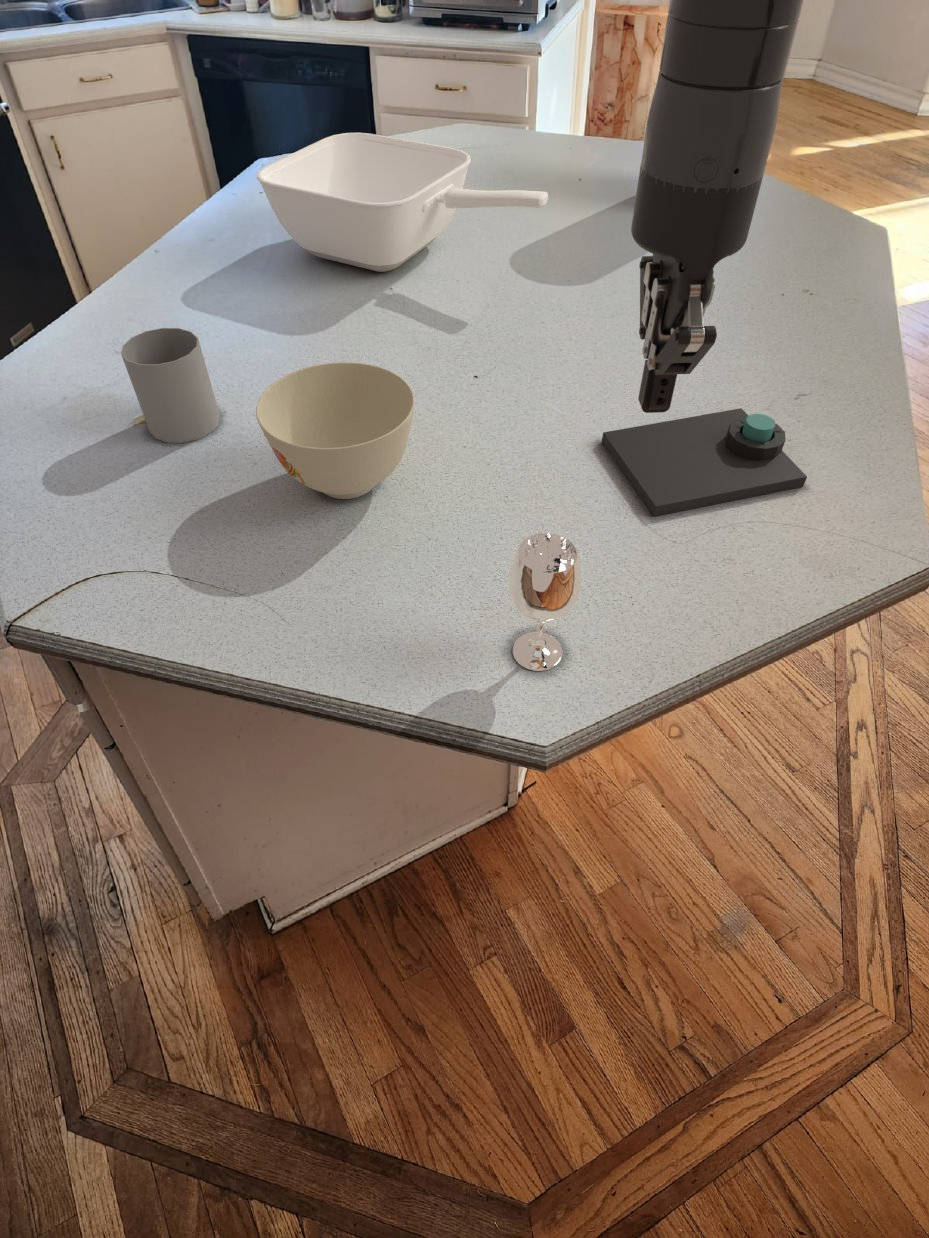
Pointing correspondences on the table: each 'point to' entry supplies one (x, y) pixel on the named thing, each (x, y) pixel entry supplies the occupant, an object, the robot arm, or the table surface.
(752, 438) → the power button
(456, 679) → the table surface
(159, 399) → the cup
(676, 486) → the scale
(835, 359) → the table surface
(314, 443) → the bowl
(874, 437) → the table surface
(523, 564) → the wineglass
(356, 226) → the pan
